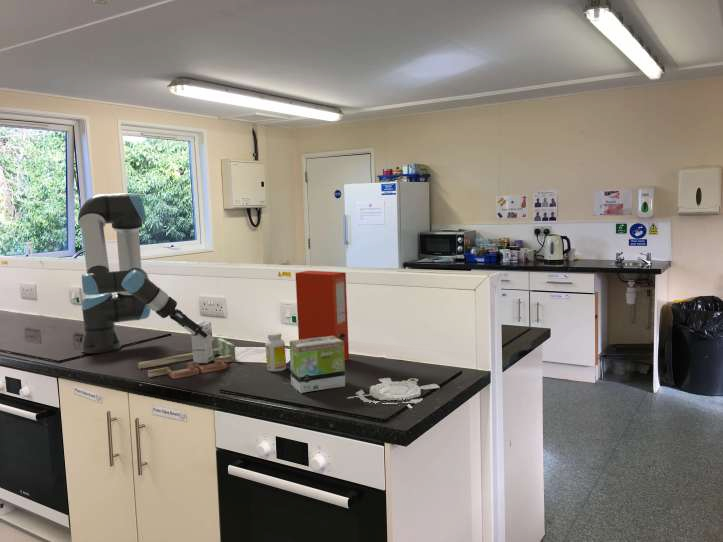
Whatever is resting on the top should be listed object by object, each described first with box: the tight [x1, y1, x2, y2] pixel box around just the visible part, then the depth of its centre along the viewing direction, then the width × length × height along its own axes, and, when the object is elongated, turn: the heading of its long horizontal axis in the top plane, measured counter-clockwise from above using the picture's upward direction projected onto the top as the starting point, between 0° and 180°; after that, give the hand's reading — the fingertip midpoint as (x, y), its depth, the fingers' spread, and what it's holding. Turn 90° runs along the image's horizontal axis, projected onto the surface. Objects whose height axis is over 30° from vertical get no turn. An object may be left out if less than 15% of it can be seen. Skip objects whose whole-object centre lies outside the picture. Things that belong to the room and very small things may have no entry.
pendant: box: [347, 377, 441, 409], centre depth 181 cm, size 21×28×1 cm
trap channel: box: [137, 337, 236, 380], centre depth 218 cm, size 23×32×6 cm
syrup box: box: [190, 321, 215, 364], centre depth 224 cm, size 6×6×14 cm
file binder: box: [295, 270, 350, 361], centre depth 220 cm, size 8×17×32 cm, turn 53°
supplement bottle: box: [265, 331, 287, 373], centre depth 209 cm, size 7×7×13 cm
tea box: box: [289, 336, 346, 394], centre depth 189 cm, size 15×10×15 cm, turn 114°
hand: (205, 338), depth 225 cm, fingers open, 13 cm apart
